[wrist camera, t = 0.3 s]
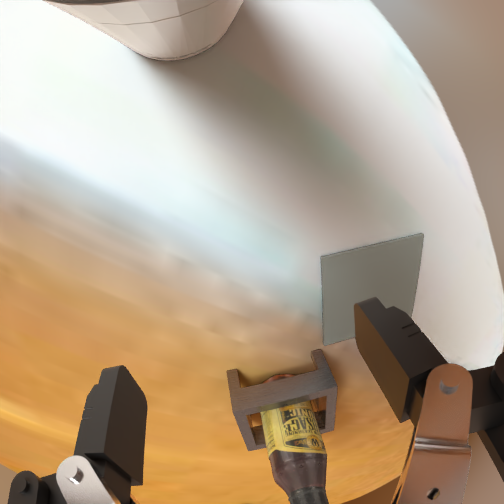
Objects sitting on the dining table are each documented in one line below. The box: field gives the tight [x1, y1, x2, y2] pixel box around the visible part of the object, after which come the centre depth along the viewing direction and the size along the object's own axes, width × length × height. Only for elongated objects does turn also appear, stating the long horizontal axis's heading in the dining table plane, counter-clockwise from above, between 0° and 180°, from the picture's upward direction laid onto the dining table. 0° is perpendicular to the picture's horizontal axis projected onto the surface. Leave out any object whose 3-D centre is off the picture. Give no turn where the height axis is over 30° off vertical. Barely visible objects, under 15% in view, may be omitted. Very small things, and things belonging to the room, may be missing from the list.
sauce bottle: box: [260, 374, 329, 504], centre depth 31 cm, size 6×6×20 cm
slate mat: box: [321, 233, 424, 346], centre depth 34 cm, size 12×12×1 cm
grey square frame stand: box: [227, 349, 337, 451], centre depth 37 cm, size 10×11×6 cm
